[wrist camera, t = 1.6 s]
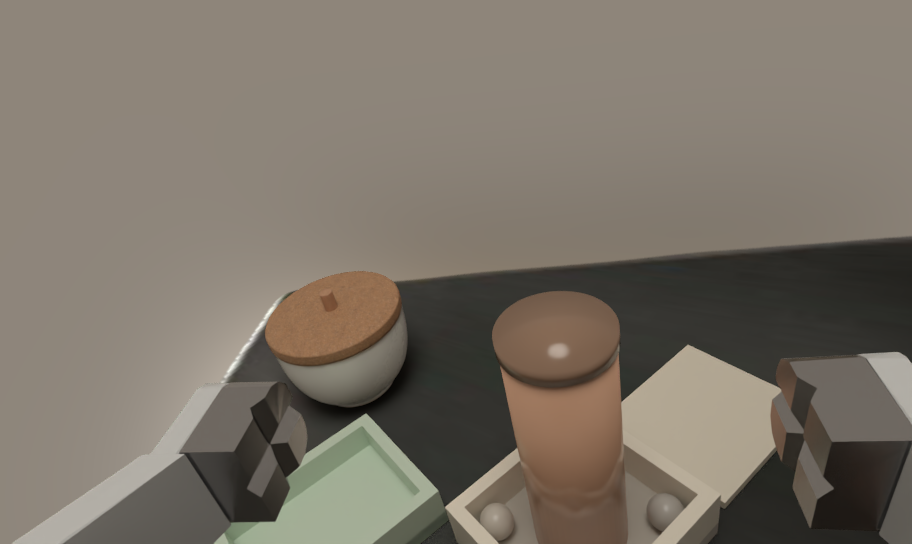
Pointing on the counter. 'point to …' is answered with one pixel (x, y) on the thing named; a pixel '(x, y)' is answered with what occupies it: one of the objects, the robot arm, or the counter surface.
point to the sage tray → (351, 496)
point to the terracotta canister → (566, 414)
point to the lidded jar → (341, 337)
